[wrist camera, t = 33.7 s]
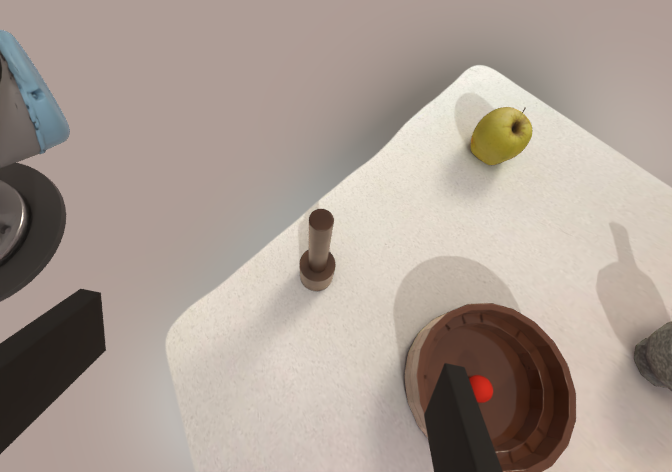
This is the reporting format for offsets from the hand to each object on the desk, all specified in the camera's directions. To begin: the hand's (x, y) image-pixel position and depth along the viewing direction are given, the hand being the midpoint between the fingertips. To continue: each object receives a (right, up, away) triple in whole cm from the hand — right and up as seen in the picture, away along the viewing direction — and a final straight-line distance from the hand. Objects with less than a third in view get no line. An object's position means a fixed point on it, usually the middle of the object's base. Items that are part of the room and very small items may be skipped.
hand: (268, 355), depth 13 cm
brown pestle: (0, -1, +34) cm, 34 cm away
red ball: (+19, -13, +28) cm, 37 cm away
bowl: (+20, -14, +30) cm, 39 cm away
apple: (+27, +18, +44) cm, 55 cm away
